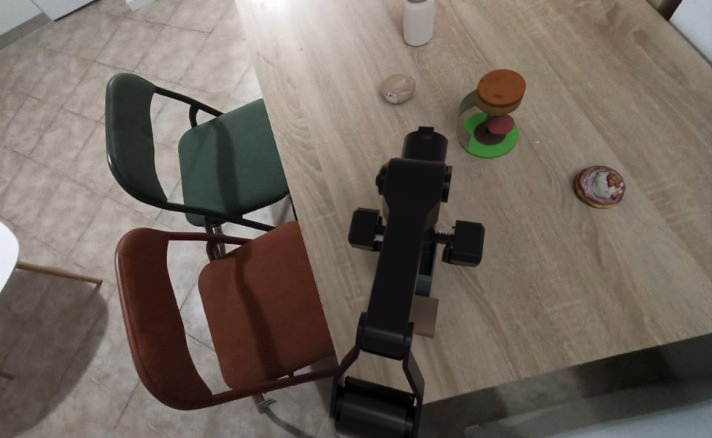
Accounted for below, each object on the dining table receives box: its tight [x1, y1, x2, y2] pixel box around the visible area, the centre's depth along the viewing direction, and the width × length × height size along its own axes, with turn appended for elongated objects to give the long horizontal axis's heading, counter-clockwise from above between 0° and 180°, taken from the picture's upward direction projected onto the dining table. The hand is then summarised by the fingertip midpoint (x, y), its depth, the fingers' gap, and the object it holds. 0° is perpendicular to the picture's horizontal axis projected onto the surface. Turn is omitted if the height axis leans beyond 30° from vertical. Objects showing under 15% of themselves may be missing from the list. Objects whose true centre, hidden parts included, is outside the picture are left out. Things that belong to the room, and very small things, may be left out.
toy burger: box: [455, 68, 527, 159], centre depth 80 cm, size 12×13×15 cm
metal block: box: [410, 295, 440, 339], centre depth 76 cm, size 6×10×4 cm, turn 74°
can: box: [402, 0, 436, 47], centre depth 96 cm, size 6×6×12 cm
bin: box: [415, 232, 439, 298], centre depth 76 cm, size 14×7×14 cm
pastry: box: [573, 165, 626, 209], centre depth 75 cm, size 8×8×5 cm
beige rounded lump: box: [380, 73, 416, 104], centre depth 93 cm, size 7×6×8 cm
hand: (413, 253), depth 73 cm, fingers open, 9 cm apart
